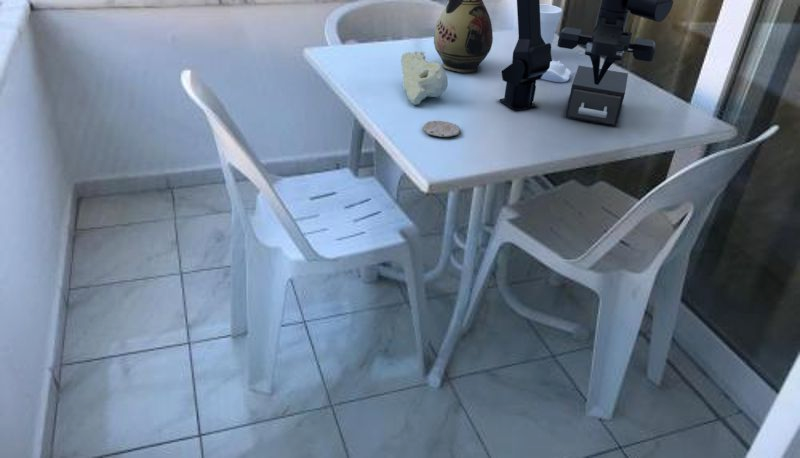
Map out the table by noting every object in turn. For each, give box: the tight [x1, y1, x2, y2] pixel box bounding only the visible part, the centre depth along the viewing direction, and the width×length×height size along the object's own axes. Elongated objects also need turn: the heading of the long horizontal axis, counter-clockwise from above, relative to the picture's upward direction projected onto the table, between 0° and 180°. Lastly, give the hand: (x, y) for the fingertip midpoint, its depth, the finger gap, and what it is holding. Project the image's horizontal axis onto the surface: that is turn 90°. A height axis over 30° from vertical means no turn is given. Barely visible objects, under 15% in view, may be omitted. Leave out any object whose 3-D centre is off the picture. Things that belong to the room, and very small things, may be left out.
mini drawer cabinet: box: [564, 65, 629, 127], centre depth 151 cm, size 14×12×8 cm
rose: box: [540, 60, 572, 83], centre depth 170 cm, size 10×4×10 cm
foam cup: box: [540, 3, 563, 46], centre depth 182 cm, size 10×9×13 cm
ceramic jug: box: [433, 0, 494, 74], centre depth 165 cm, size 17×15×30 cm
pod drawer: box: [568, 89, 621, 124], centre depth 148 cm, size 17×10×6 cm, turn 161°
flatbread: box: [422, 120, 460, 138], centre depth 139 cm, size 8×8×1 cm
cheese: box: [400, 50, 449, 106], centre depth 154 cm, size 15×7×15 cm
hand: (596, 84), depth 135 cm, fingers closed
